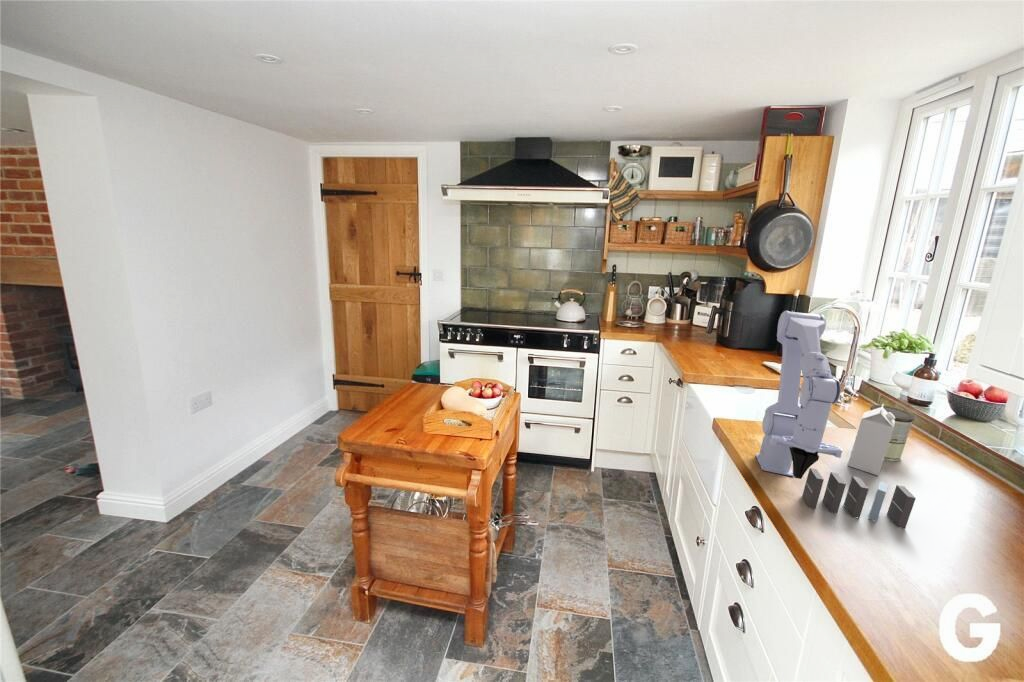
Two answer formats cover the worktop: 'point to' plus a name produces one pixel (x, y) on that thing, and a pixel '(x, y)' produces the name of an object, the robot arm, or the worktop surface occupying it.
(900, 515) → the tile
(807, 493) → the tile
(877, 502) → the tile
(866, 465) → the milk carton
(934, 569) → the worktop surface
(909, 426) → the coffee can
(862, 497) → the tile
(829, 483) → the tile
